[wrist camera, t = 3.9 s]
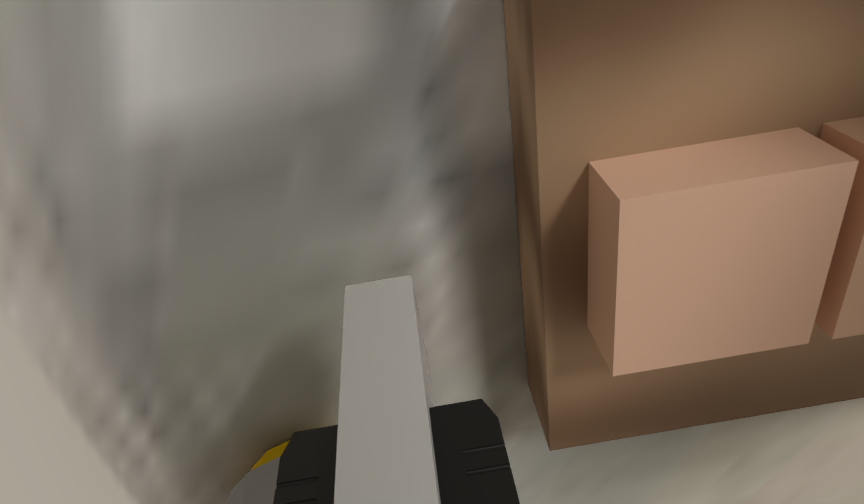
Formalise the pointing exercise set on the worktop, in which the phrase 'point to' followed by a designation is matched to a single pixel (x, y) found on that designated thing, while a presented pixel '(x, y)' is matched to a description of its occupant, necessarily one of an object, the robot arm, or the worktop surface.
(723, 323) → the tile
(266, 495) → the soap bottle
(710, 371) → the walnut board
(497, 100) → the worktop surface
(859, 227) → the tile
